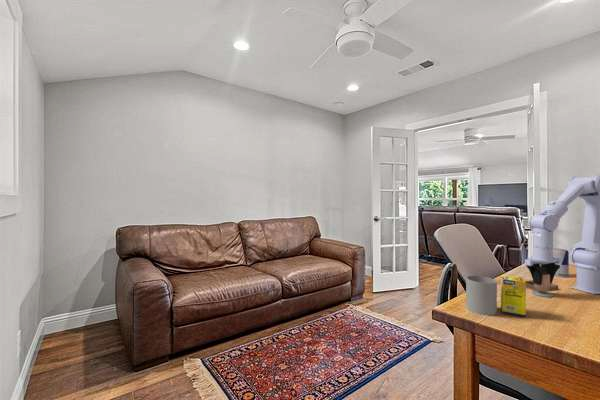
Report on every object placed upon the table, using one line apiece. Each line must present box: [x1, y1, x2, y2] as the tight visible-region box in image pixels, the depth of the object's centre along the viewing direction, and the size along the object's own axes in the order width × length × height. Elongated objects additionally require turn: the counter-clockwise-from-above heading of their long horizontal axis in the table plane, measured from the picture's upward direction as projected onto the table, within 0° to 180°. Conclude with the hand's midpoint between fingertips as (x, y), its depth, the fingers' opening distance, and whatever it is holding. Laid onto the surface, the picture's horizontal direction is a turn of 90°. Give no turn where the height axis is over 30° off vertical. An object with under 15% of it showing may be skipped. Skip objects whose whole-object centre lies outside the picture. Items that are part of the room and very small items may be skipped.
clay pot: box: [534, 272, 551, 293], centre depth 106 cm, size 4×4×6 cm
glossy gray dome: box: [531, 290, 555, 298], centre depth 105 cm, size 6×6×1 cm
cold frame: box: [525, 279, 559, 291], centre depth 114 cm, size 10×8×2 cm
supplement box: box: [500, 274, 527, 318], centre depth 90 cm, size 6×6×11 cm
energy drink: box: [553, 248, 570, 278], centre depth 130 cm, size 5×5×12 cm
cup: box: [465, 275, 498, 316], centre depth 92 cm, size 8×8×10 cm
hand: (542, 283), depth 105 cm, fingers closed on clay pot, 4 cm apart
